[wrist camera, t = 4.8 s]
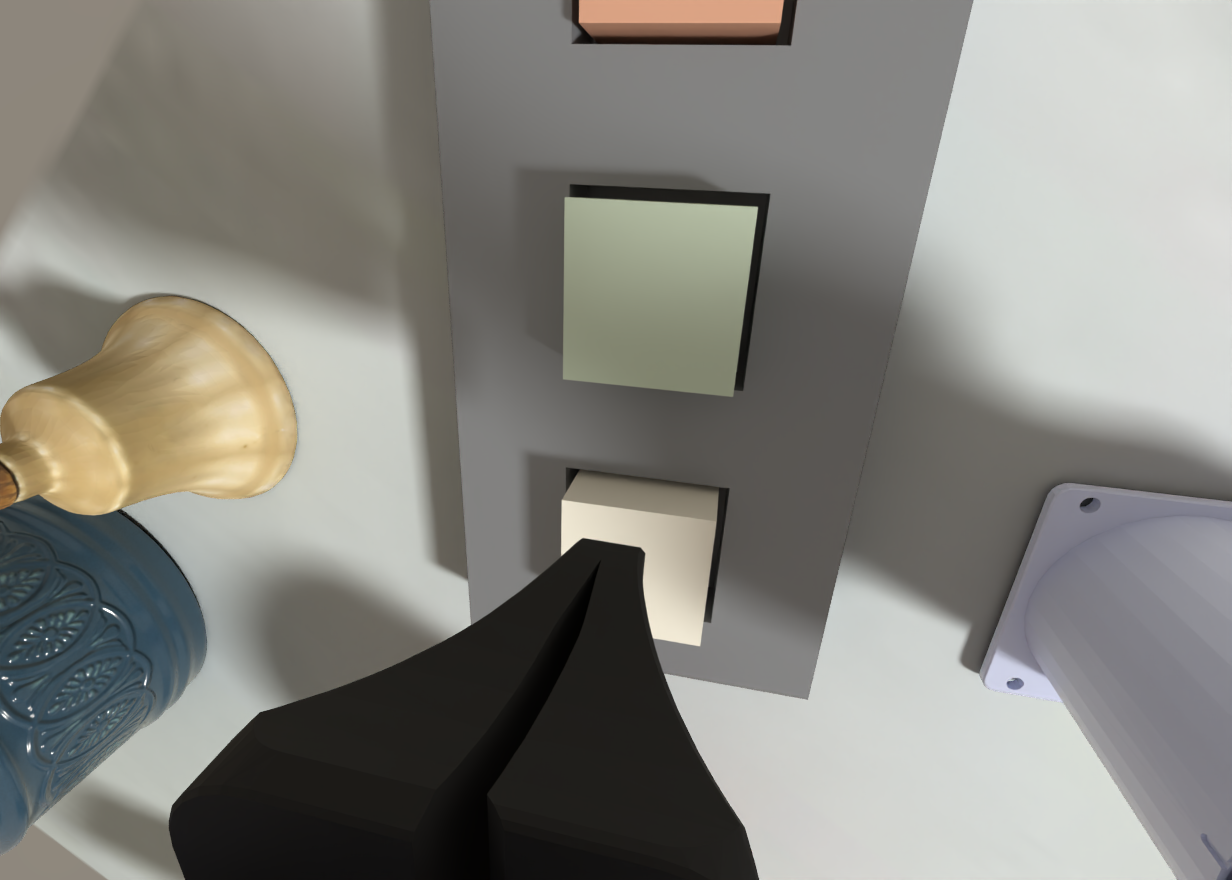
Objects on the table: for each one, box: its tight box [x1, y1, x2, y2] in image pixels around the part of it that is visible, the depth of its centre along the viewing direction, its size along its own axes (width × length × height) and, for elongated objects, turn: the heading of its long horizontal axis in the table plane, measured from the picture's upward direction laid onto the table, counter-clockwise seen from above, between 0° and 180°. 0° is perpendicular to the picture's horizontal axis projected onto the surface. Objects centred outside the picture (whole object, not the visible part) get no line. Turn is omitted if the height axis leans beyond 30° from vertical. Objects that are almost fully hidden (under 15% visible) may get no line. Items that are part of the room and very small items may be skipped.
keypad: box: [429, 0, 973, 700], centre depth 16 cm, size 12×26×2 cm, turn 178°
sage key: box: [563, 197, 758, 397], centre depth 15 cm, size 4×4×2 cm
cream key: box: [561, 469, 719, 646], centre depth 18 cm, size 4×4×2 cm
